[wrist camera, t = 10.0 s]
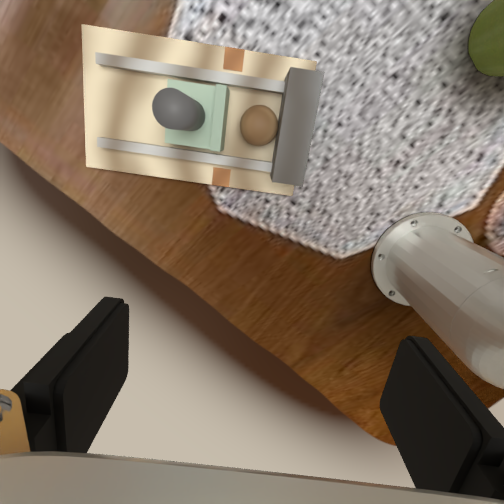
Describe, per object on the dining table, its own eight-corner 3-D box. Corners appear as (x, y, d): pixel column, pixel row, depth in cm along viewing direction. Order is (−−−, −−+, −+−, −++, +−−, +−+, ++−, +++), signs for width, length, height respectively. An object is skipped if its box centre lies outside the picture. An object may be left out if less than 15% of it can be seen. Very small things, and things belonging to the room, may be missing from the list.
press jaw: (229, 91, 34) (219, 73, 24) (223, 150, 36) (211, 154, 26) (173, 82, 34) (140, 60, 24) (169, 142, 36) (138, 144, 26)
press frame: (314, 64, 35) (329, 45, 28) (290, 193, 39) (298, 206, 32) (88, 28, 34) (44, 0, 27) (92, 165, 38) (55, 171, 31)
